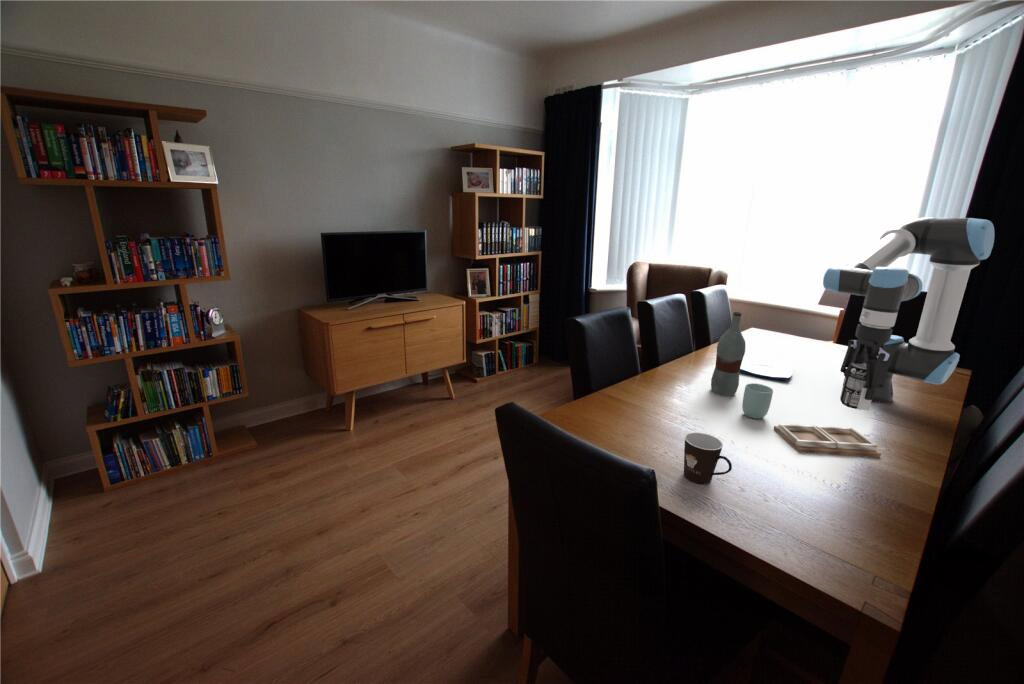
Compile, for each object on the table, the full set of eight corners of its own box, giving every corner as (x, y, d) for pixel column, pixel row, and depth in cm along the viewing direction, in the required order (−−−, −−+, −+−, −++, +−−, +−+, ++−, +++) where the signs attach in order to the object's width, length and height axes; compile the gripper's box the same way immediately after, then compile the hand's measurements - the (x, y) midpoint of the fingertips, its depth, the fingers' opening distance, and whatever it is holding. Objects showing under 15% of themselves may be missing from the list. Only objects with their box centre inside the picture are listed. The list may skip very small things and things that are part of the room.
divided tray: (846, 433, 140) (848, 425, 139) (879, 457, 126) (882, 448, 125) (773, 429, 140) (775, 421, 140) (798, 452, 127) (801, 444, 126)
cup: (756, 423, 144) (762, 393, 141) (735, 413, 151) (740, 385, 148) (772, 419, 148) (778, 390, 145) (750, 409, 154) (756, 381, 151)
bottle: (703, 388, 171) (717, 310, 162) (722, 386, 174) (736, 309, 166) (724, 398, 162) (739, 316, 154) (742, 395, 166) (758, 314, 157)
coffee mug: (673, 467, 117) (678, 432, 114) (705, 467, 118) (711, 432, 115) (694, 495, 106) (701, 457, 103) (729, 494, 107) (737, 456, 104)
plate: (792, 371, 196) (793, 365, 195) (790, 385, 179) (791, 379, 178) (739, 361, 206) (741, 355, 205) (733, 373, 189) (734, 367, 189)
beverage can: (860, 402, 132) (871, 363, 129) (872, 411, 126) (884, 370, 123) (835, 399, 133) (845, 360, 130) (846, 408, 127) (857, 368, 124)
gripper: (838, 316, 133) (819, 390, 139) (888, 334, 114) (864, 418, 120) (864, 317, 132) (845, 391, 139) (919, 335, 114) (893, 420, 120)
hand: (853, 403), depth 130 cm, fingers closed on beverage can, 7 cm apart
